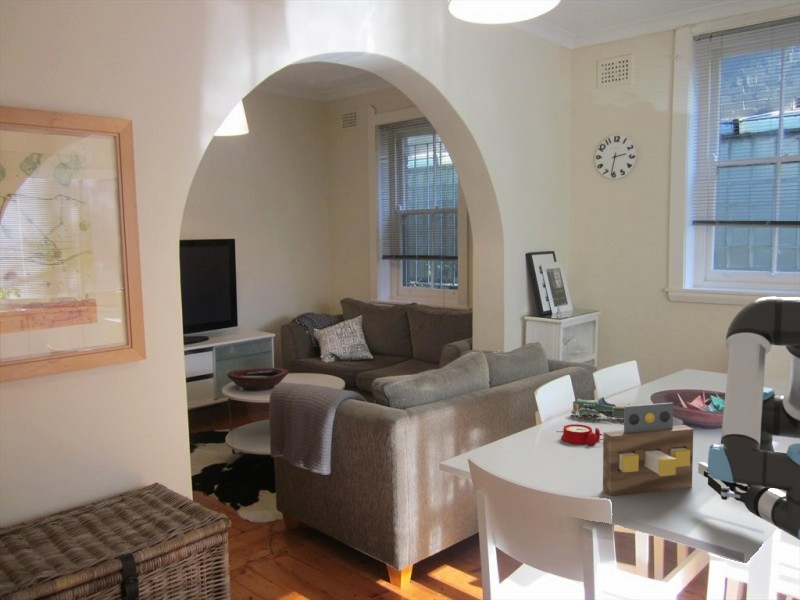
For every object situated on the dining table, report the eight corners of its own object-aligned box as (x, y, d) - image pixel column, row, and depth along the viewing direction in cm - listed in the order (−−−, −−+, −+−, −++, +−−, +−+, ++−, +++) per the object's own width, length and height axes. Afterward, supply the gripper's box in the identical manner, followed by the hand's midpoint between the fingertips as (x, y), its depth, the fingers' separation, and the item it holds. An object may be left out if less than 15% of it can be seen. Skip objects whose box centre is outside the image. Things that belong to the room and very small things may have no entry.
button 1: (638, 471, 172) (638, 455, 172) (623, 472, 171) (623, 456, 171) (619, 459, 181) (620, 444, 180) (605, 461, 180) (606, 446, 179)
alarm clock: (564, 422, 228) (607, 419, 220) (568, 440, 228) (611, 437, 220) (553, 430, 220) (598, 427, 212) (557, 449, 220) (602, 446, 211)
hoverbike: (574, 412, 255) (574, 391, 254) (643, 419, 243) (643, 397, 242) (568, 418, 246) (568, 397, 245) (639, 426, 235) (640, 403, 234)
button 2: (689, 465, 175) (690, 450, 175) (675, 467, 174) (675, 451, 174) (669, 454, 184) (669, 440, 183) (655, 456, 183) (655, 441, 182)
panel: (692, 487, 178) (693, 428, 177) (610, 496, 173) (611, 436, 172) (682, 481, 182) (683, 424, 181) (602, 490, 177) (603, 432, 176)
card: (673, 429, 177) (673, 403, 176) (625, 433, 174) (626, 407, 173) (671, 428, 178) (671, 402, 177) (623, 432, 175) (624, 406, 174)
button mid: (675, 474, 169) (675, 458, 168) (660, 476, 168) (661, 460, 167) (655, 463, 178) (655, 447, 177) (640, 464, 177) (641, 449, 176)
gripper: (744, 523, 143) (677, 484, 166) (796, 517, 146) (723, 479, 169) (745, 490, 142) (678, 455, 165) (797, 484, 145) (724, 450, 168)
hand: (701, 467), depth 167 cm, fingers closed
